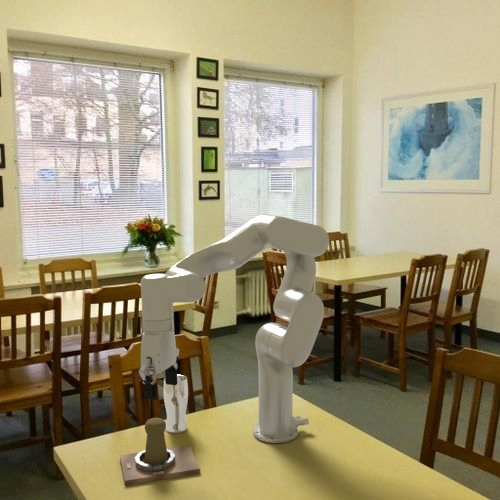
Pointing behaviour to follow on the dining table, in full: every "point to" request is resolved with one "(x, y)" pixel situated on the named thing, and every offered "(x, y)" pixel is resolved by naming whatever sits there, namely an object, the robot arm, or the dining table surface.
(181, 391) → the beer glass
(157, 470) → the hub ring
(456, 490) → the dining table surface
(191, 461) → the board
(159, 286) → the robot arm
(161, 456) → the cork
